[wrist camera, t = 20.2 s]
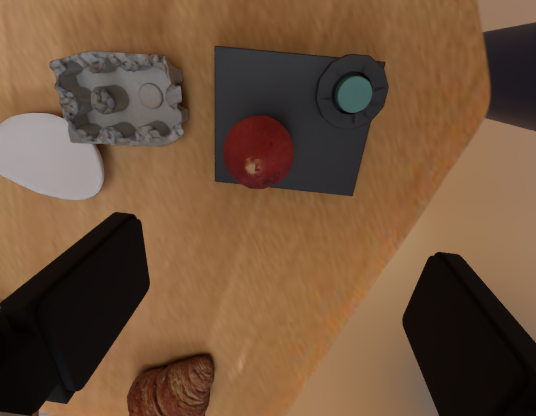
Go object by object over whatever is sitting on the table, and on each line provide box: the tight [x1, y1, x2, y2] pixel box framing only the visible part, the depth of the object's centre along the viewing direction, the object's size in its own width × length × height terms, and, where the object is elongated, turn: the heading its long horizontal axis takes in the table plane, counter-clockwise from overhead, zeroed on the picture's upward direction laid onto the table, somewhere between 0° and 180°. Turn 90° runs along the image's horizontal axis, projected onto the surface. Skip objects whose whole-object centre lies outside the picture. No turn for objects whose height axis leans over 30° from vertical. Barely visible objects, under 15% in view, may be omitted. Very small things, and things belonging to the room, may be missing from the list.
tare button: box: [335, 76, 372, 113], centre depth 22 cm, size 3×3×2 cm
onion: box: [223, 116, 294, 189], centre depth 23 cm, size 6×6×8 cm
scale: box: [215, 46, 388, 196], centre depth 25 cm, size 14×12×3 cm
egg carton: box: [49, 52, 189, 146], centre depth 25 cm, size 11×8×4 cm
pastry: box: [127, 355, 214, 416], centre depth 43 cm, size 17×15×8 cm
